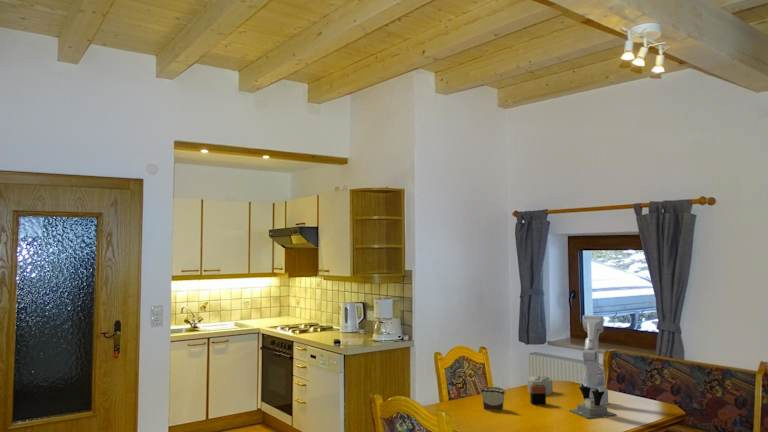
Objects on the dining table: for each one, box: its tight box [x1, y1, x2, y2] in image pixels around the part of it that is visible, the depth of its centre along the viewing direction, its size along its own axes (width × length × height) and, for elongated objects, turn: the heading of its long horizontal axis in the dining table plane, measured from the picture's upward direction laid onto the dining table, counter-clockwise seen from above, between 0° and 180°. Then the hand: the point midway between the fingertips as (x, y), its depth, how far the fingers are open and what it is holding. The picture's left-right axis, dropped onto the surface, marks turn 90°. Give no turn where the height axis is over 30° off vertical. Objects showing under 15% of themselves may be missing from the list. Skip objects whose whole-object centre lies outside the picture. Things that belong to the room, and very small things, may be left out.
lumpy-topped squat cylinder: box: [526, 374, 554, 396], centre depth 318 cm, size 10×13×9 cm
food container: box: [480, 386, 506, 412], centre depth 286 cm, size 12×6×10 cm, turn 65°
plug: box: [584, 398, 599, 408], centre depth 276 cm, size 5×4×6 cm
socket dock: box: [568, 402, 617, 420], centre depth 276 cm, size 16×14×4 cm
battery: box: [529, 383, 547, 406], centre depth 294 cm, size 4×7×10 cm, turn 93°
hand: (592, 403), depth 276 cm, fingers open, 7 cm apart
